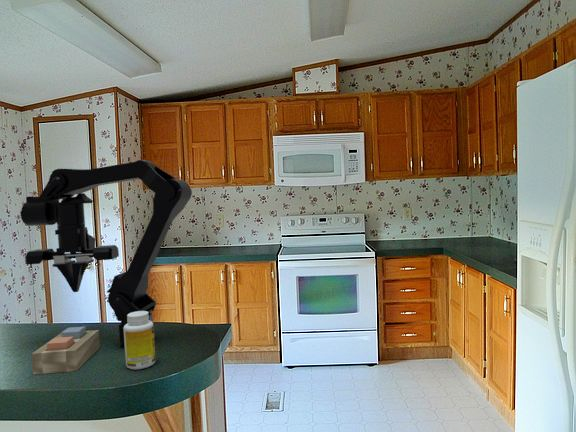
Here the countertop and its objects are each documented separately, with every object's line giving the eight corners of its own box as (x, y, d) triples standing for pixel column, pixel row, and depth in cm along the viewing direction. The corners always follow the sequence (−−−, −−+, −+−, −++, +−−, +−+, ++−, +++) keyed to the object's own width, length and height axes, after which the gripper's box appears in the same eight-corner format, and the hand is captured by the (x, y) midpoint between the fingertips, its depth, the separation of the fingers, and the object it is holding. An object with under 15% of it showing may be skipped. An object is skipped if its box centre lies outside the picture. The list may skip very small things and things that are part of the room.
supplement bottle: (159, 365, 84) (156, 313, 83) (129, 373, 81) (125, 319, 80) (151, 357, 89) (148, 308, 88) (123, 364, 86) (119, 313, 85)
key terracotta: (74, 350, 88) (73, 336, 88) (67, 356, 84) (66, 342, 84) (56, 351, 88) (55, 337, 87) (47, 357, 84) (46, 343, 84)
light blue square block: (86, 339, 94) (85, 326, 94) (79, 344, 91) (78, 331, 91) (69, 340, 94) (68, 327, 94) (62, 345, 90) (61, 332, 90)
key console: (99, 347, 96) (98, 329, 96) (76, 370, 83) (75, 350, 83) (62, 350, 95) (61, 332, 95) (33, 374, 82) (31, 353, 82)
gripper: (123, 220, 108) (127, 282, 108) (45, 224, 106) (49, 287, 107) (108, 222, 96) (113, 292, 97) (21, 227, 95) (26, 297, 96)
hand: (76, 291), depth 99 cm, fingers closed
